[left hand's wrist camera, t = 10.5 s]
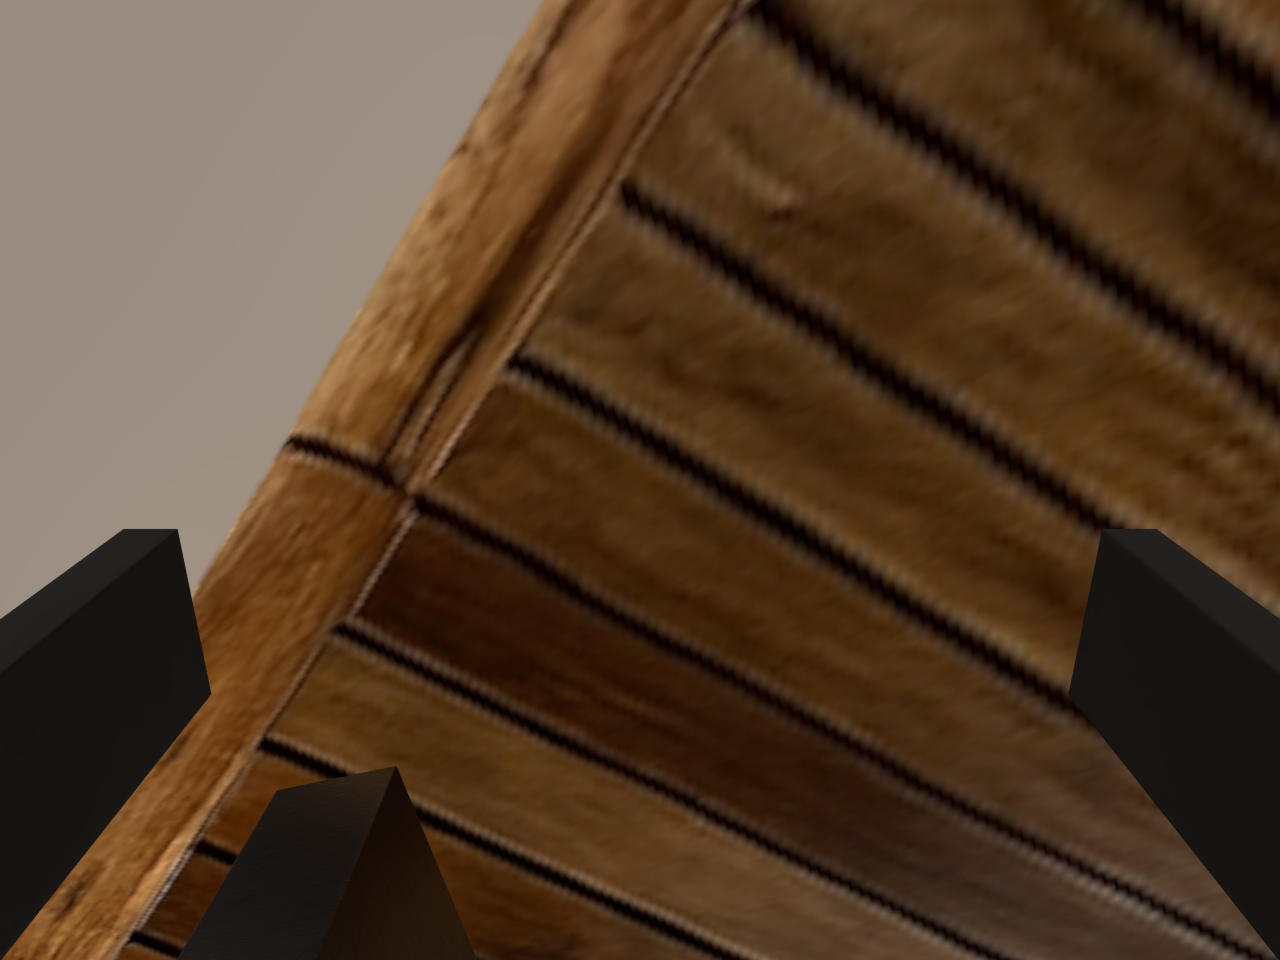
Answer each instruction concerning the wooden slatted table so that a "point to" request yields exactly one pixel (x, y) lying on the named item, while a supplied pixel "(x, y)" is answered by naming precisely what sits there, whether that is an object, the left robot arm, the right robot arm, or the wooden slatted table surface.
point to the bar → (334, 882)
